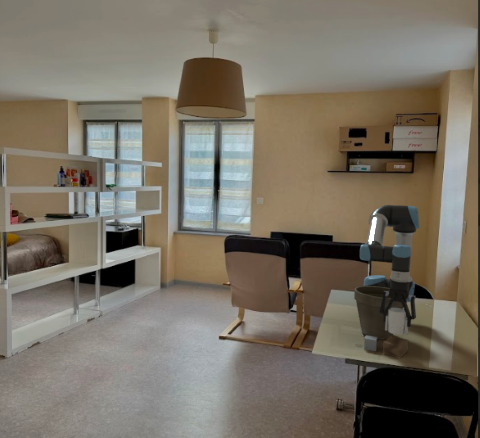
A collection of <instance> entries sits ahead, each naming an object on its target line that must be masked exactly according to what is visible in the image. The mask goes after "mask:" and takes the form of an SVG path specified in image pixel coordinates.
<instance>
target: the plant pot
mask: <svg viewBox="0 0 480 438" xmlns="http://www.w3.org/2000/svg"><path fill="white" fill-rule="evenodd" d="M389 290H390V288H384V287H376V286H364V285H361V286H356V287H355V288H354V294H353V296H354V300H355V302H356V307H357V313H358V318H359V319H358V320H359V324H360V331H361V333H362V334H363V336H364V335H365V336H366V335H367V336H374V337H377V340H387V339H388V338H389V337H390V336H393V337H394V334H392V333H390V332H388V330H387V331H386V330H385V324H386V322H384V321H383V320H384V315H383V314H382V313H380V308H381V303H382V299H383V292H384V291H389ZM390 300H391V296H390V294H388V296H387V300H386V305H385V309H384V311H385V310H386V308H387V306H388V304H389V302H390ZM406 301H407V299H406ZM391 308H401V309H404V308H403V305H402V303H401V302H398V301H395V302H394V303H393V305H392V307H391Z"/></svg>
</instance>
